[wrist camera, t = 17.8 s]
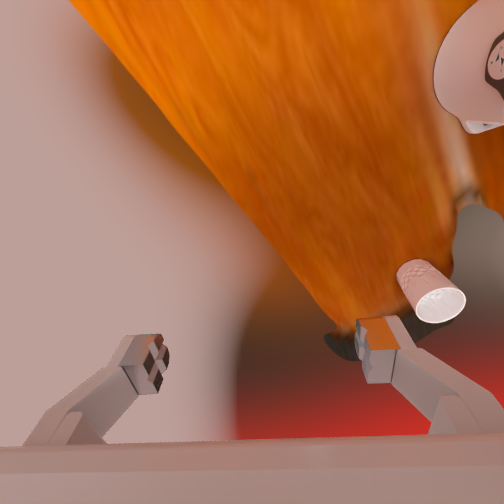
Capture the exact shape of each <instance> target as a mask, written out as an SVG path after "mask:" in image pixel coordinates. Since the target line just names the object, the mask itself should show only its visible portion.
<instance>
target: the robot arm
mask: <svg viewBox="0 0 504 504" xmlns="http://www.w3.org/2000/svg"><path fill="white" fill-rule="evenodd" d="M434 89H435V93H436V96H437V98H438V100H439V102H440V104H441V105H442V106H443V107H444V108H445V109H446V110H447V111H448V112H450V113H451V114H453V115H454V116H456V117H457V118H458V119H459V120H460V122H461V124H462V126H463V128H464V129H465V131H466V132H467V133H470V134H477V133H480V132H484V131H487V130H490V129H493V128H496V127H499V126H502V125H504V0H478V1H477V2H476V3H475V4H474V5H472V6H471V7H470V8H469V9H468V10H467V11H466V12H465V13H464V14H463V15H462V16H461V17H460V18H459V19H458V20H457V21H456V23H455V24H454V25H453V26H452V28H451V29H450V31H449V32H448V34H447V36H446V37H445V39H444V41H443V43H442V45H441V47H440V50H439V53H438V55H437V59H436V63H435V68H434ZM483 124H484V125H483ZM355 326H356V329H357V332H356V333H355V346H356V351H357V354H358V357H359V359H361V360H362V361H363V364H362V369H363V371H364V374H365V377H366V380H367V382H368V383H391V384H392V385H393V386H394V387H395V388H396V389H397V390H398V391H399V392H400V393H401V394H402V395H403V396H405V398H407V399H408V400H409V401H410V402H411V403H412V404H413V405H414V406H415V407H416V408H417V409H418V410H419V411H420V412H421V413H422V414H423V415H424V416H425V417H427V419H429V420H430V421H431V422H432V424H431V427H430V430H429V433H428V435H405V436H370V437H369V436H367V437H336V438H334V437H333V438H298V439H264V440H229V441H197V442H195V441H194V442H159V443H125V444H107V443H106V442H105V441H104V440H103V438H102V437H103V436H104V435H105V433H106V432H107V431H108V430H109V429H110V428H111V427H112V426H113V425H114V423H115V422H116V421H117V420H118V419H119V418H120V417H121V416H122V414H123V413H124V412H125V411H126V410H127V409H128V408H129V407H130V405H131V404H132V403H133V402H134V401H135V400H136V399H137V398H138V395H146V394H158V392H159V390H160V386H161V384H162V381H163V377H162V373H163V372H164V371H165V370H167V367H168V364H169V351H168V348H167V347H166V346H165V345H163V344H162V343H163V340H164V339H163V337H162V335H161V334H141V335H127V336H125V337H124V338H123V339H122V341H121V342H120V344H119V346H118V348H117V349H116V351H115V353H114V354H113V356H112V358H111V359H110V361H109V363H108V365H107V366H106V367H105V368H101V369H100V370H99V371H98V372H96V373H95V374H94V375H92V376H91V377H90V378H89V379H87V380H86V381H85V382H83V383H82V384H81V385H80V386H78V387H77V388H76V389H74V390H73V391H72V392H70V393H69V394H68V395H67V396H65V397H64V398H63V399H61V400H60V401H59V402H58V403H56V404H55V405H54V406H52V407H51V408H50V409H49V410H47V411H46V412H45V414H44V415H43V416H42V418H41V419H40V421H39V422H38V424H37V425H36V427H35V428H34V430H33V431H32V432H31V434H30V435H29V437H28V438H27V440H26V441H25V443H24V444H23V446H19V447H18V446H17V447H0V504H504V409H502V407H501V405H500V404H499V403H498V401H497V400H496V399H495V397H494V396H493V395H492V393H491V392H489V391H487V390H486V389H484V388H483V387H481V386H480V385H478V384H476V383H475V382H473V381H472V380H470V379H469V378H467V377H466V376H464V375H462V374H461V373H459V372H458V371H456V370H455V369H453V368H452V367H450V366H448V365H447V364H445V363H444V362H442V361H441V360H439V359H437V358H436V357H434V356H433V355H431V354H430V353H428V352H426V351H425V350H423V349H422V348H417V347H416V346H415V344H414V342H413V341H412V339H411V337H410V336H409V334H408V332H407V330H406V329H405V327H404V325H403V324H402V322H401V320H400V319H399V317H398V316H396V315H395V316H383V317H371V318H360V319H356V324H355Z"/></svg>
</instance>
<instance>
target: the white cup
mask: <svg viewBox="0 0 504 504" xmlns="http://www.w3.org/2000/svg"><path fill="white" fill-rule="evenodd" d="M396 276H397V281H398V283H399V284H400V286H401V288H402V290H403V292H404V294H405V296H406V298H407V299H408V301H409V303H410V304H411V306H412V308H413V309H414V311H415V313H416V314H417V316H418V317H419V318H420V319H421V320H423V321H425V322H428V323H440V322H444V321H447V320H449V319H452V318H453V317H455V316H456V315H458V314H459V313H460V312H461V311H462V309H463V308H464V306H465V303H466V298H465V295H464V294H463V292H462V291H460V290H459V289H458V288H457V287H456V286H455V285H454V284H453V283H452V282H451V281H450V280H449V279H447V278H446V277H445V276H444V275H443V274H442V273H441V272H440V271H438V270H437V269H435V268H434V267H433V266H432V265H431V264H430V263H429V262H428V261H425V260H422V259H414V260H411V261H408V262H406V263H404V264H403V265H402V266H401V267H400V268H399V270H398V272H397V274H396Z"/></svg>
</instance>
